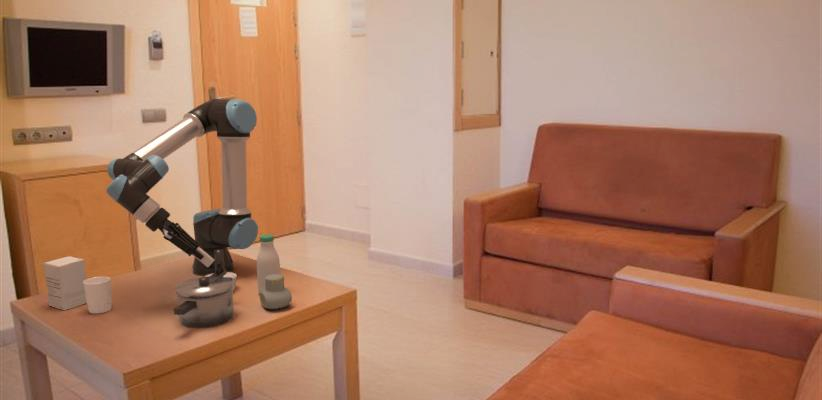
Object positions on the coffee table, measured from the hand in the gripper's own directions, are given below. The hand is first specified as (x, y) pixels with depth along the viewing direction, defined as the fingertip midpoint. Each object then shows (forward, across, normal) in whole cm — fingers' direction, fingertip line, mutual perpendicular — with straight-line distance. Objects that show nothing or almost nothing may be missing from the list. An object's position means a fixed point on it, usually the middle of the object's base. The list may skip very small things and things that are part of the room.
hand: (211, 263), depth 211 cm
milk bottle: (+22, -8, +3) cm, 23 cm away
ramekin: (+10, -13, -10) cm, 19 cm away
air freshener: (+24, +7, +5) cm, 25 cm away
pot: (+9, +13, -10) cm, 19 cm away
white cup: (-15, -1, -35) cm, 38 cm away
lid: (+3, +9, -3) cm, 10 cm away
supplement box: (-23, -9, -44) cm, 50 cm away
